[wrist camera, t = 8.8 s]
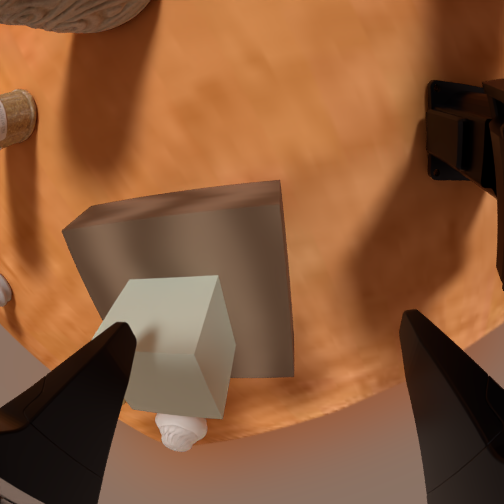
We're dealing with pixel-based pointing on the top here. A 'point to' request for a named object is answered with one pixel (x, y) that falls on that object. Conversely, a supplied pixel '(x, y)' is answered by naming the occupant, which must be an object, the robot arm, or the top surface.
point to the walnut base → (200, 260)
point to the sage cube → (177, 345)
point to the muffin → (180, 430)
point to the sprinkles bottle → (16, 117)
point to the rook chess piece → (4, 291)
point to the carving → (70, 14)
